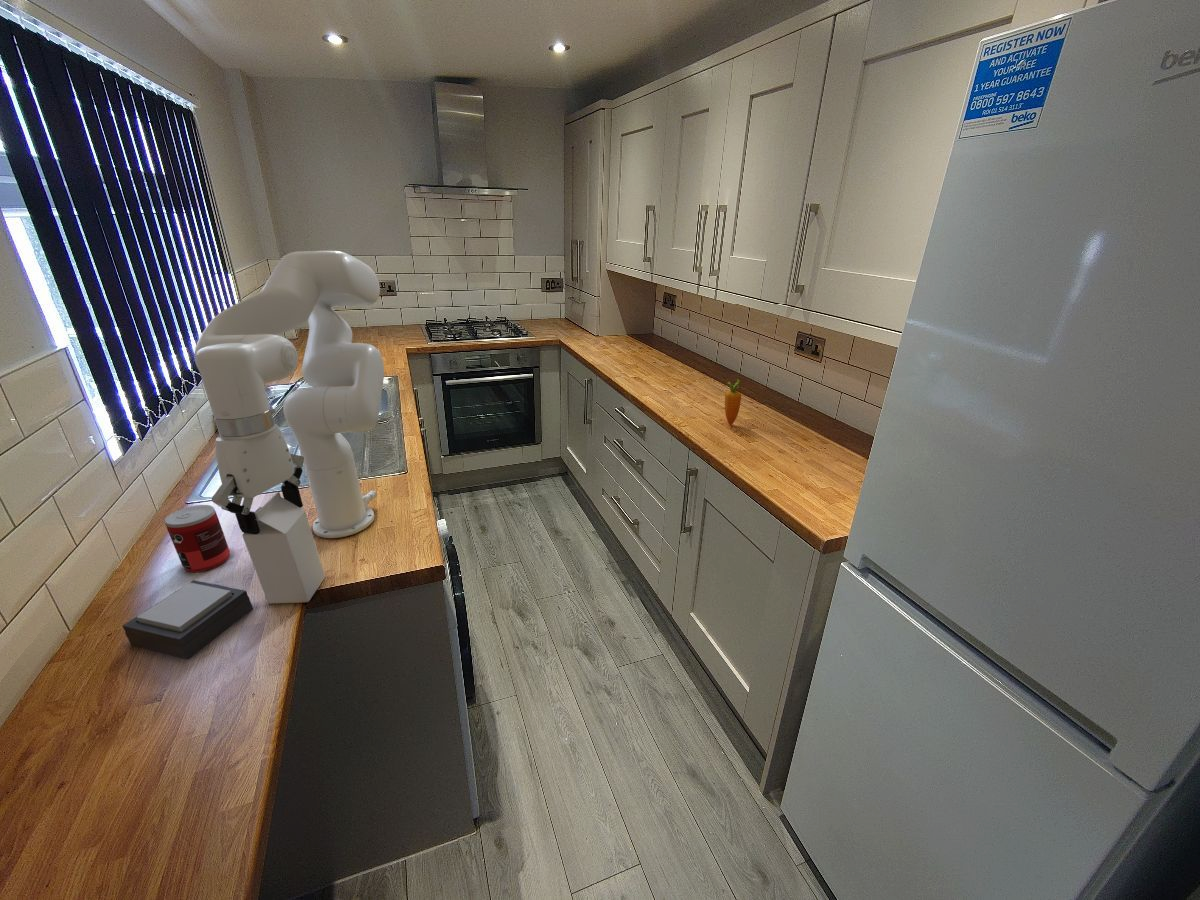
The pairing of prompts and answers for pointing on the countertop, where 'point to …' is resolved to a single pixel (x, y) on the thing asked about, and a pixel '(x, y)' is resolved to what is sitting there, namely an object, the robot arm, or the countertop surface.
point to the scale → (196, 633)
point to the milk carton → (285, 553)
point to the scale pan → (184, 607)
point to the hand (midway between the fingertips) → (273, 518)
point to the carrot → (732, 403)
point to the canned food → (198, 538)
